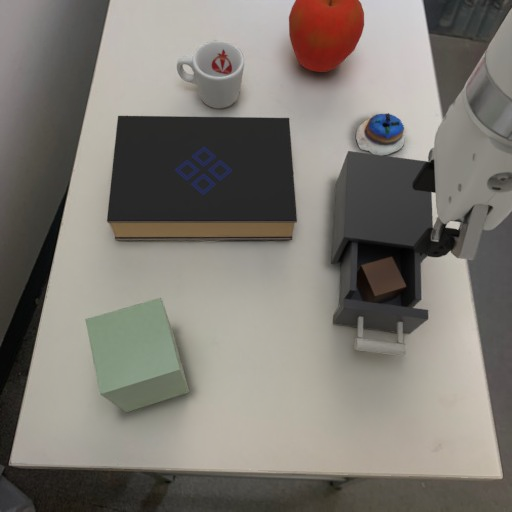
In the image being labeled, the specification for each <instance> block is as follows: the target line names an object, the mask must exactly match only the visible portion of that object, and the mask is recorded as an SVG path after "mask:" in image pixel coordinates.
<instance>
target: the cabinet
mask: <svg viewBox="0 0 512 512" xmlns="http://www.w3.org/2000/svg"><path fill="white" fill-rule="evenodd" d="M425 162H429V161H428V160H427V161H426V160H419V159H412V158H405V157H404V158H403V157H398V156H389V155H375V154H372V153H368V152H359V151H352V150H348V151H347V153H346V155H345V158H344V161H343V164H342V166H341V169H340V172H339V174H338V177H337V180H336V182H335V185H334V186H335V187H334V188H335V189H334V202H333V203H334V205H333V223H332V235H331V236H332V237H331V238H332V239H331V255H330V256H331V257H330V264H331V265H337V266H341V262H342V252H343V250H344V248H345V246H346V244H347V242H348V240H350V241H357V242H365V243H372V244H380V245H387V246H395V247H402V248H410V249H414V245H415V243H416V242H417V241H418V240H419V238H420V237H421V236H422V235H423V233H424V232H425V231H426V230H427V228H433V227H434V224H433V223H434V222H433V220H434V219H433V194H432V193H433V192H425V191H418V190H414V189H413V186H412V183H413V181H414V180H415V178H416V176H417V175H418V173H419V172H420V170H421V169H422V167H423V165H424V164H425ZM429 163H430V162H429ZM420 257H421V263H422V262H423V261H425V260H426V258H427V257H428V256H426V254H425V253H420Z"/></svg>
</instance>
